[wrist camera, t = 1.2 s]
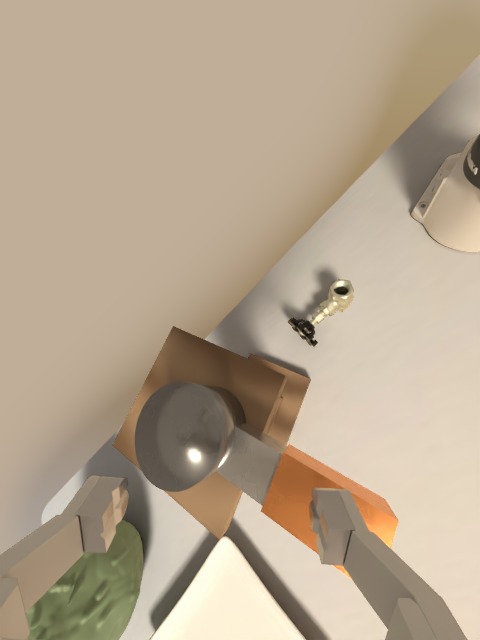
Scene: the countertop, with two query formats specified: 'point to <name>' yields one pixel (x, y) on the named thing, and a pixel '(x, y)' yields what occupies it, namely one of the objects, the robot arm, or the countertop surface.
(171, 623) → the salad plate
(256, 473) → the valve lever
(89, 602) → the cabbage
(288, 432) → the stand
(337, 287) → the valve
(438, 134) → the countertop surface
